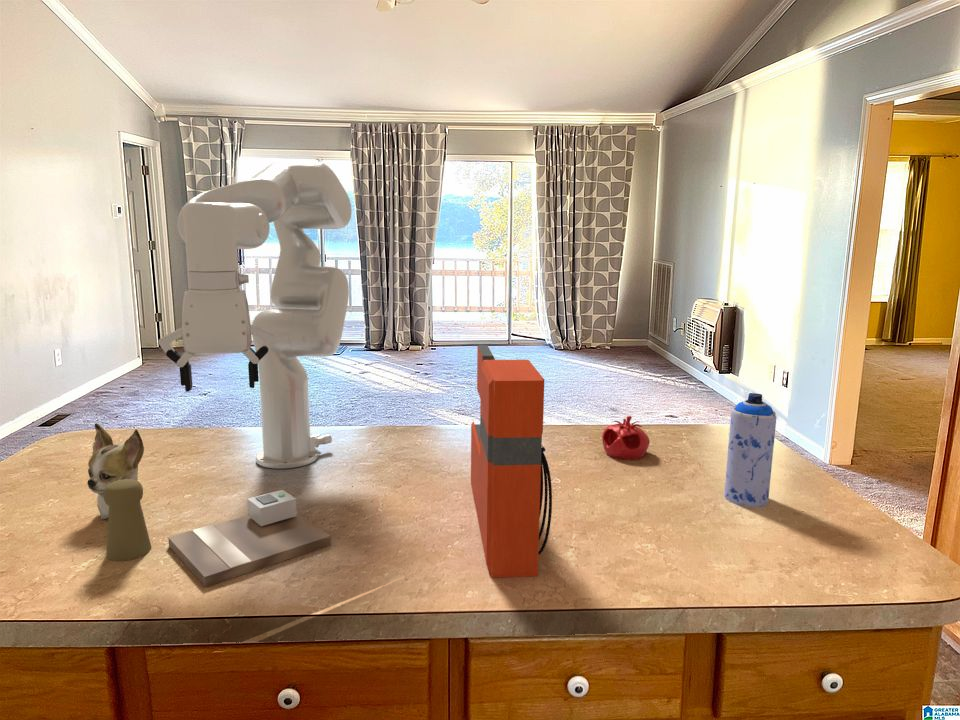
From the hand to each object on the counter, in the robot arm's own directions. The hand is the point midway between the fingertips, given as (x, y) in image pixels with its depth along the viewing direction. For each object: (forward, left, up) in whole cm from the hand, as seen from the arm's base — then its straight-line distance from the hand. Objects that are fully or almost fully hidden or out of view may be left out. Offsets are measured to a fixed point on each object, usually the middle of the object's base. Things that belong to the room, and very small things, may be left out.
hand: (221, 387), depth 108 cm
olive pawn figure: (+16, +3, -22) cm, 28 cm away
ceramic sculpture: (+14, -13, -22) cm, 30 cm away
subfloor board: (+2, +13, -22) cm, 26 cm away
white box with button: (-4, +9, -20) cm, 23 cm away
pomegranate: (-77, +25, -22) cm, 84 cm away
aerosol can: (-74, +54, -22) cm, 94 cm away
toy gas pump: (-34, +32, -23) cm, 52 cm away
